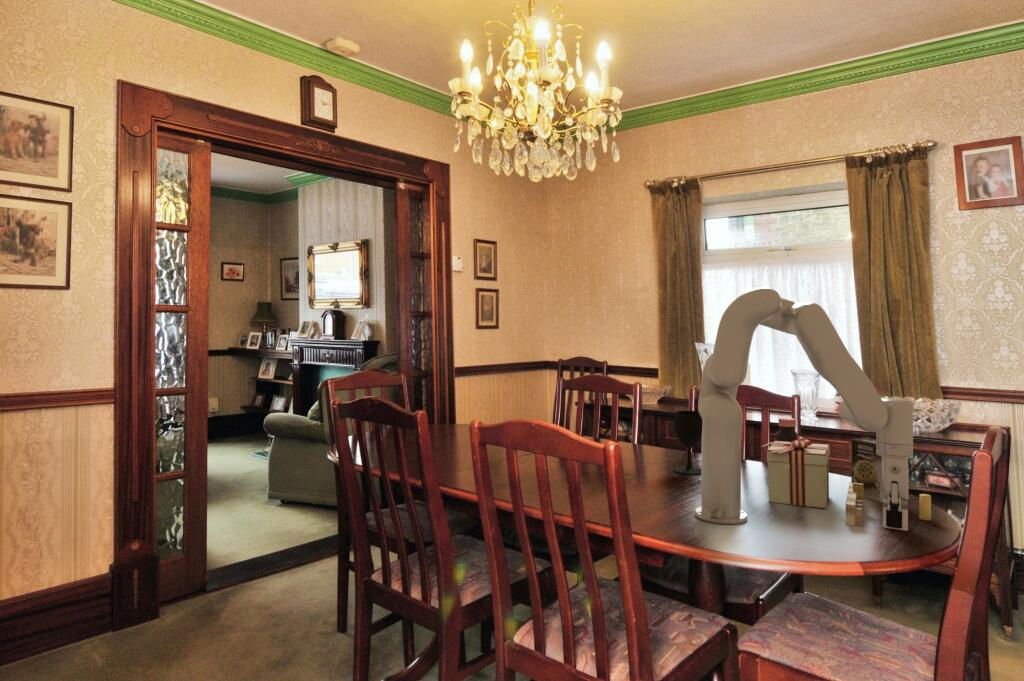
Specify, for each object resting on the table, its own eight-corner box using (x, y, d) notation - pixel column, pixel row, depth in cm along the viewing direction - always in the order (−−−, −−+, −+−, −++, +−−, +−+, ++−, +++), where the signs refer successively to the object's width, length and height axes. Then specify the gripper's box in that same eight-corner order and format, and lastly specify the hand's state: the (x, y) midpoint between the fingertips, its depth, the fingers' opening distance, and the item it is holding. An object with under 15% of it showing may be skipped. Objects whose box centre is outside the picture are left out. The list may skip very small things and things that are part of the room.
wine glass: (679, 466, 209) (679, 409, 209) (709, 470, 203) (709, 411, 203) (668, 472, 201) (668, 412, 201) (699, 476, 195) (699, 415, 194)
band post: (931, 520, 150) (931, 497, 150) (919, 519, 151) (919, 495, 151) (930, 518, 152) (930, 494, 152) (919, 516, 153) (919, 493, 153)
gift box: (760, 488, 181) (760, 431, 180) (829, 495, 173) (829, 436, 172) (756, 503, 165) (756, 441, 165) (831, 512, 157) (832, 446, 157)
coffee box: (850, 494, 174) (850, 439, 174) (865, 491, 177) (865, 437, 176) (880, 502, 166) (880, 444, 165) (895, 500, 168) (896, 442, 168)
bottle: (794, 480, 190) (794, 417, 190) (802, 485, 184) (802, 420, 183) (771, 479, 191) (772, 417, 191) (779, 485, 184) (779, 420, 184)
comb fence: (861, 526, 146) (862, 497, 146) (845, 524, 148) (845, 495, 147) (863, 502, 166) (864, 476, 166) (849, 500, 168) (849, 475, 168)
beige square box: (908, 530, 142) (908, 505, 142) (882, 527, 145) (882, 502, 145) (907, 525, 146) (907, 501, 146) (882, 522, 149) (882, 498, 148)
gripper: (914, 457, 136) (914, 537, 137) (911, 445, 150) (910, 517, 151) (876, 454, 140) (875, 531, 140) (876, 442, 154) (875, 513, 155)
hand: (893, 523), depth 146 cm, fingers closed on beige square box, 3 cm apart
